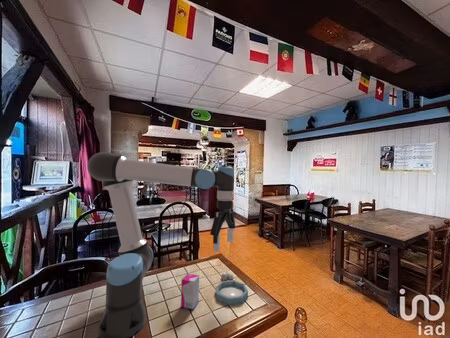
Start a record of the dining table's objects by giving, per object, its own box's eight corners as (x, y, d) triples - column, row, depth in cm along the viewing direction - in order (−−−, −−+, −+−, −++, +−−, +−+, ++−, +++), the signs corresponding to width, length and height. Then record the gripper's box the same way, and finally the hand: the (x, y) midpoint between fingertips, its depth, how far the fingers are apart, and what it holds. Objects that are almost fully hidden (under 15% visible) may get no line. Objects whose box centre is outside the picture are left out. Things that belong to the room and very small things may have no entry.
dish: (219, 306, 82) (219, 300, 82) (214, 287, 95) (214, 282, 95) (250, 302, 84) (250, 296, 84) (241, 284, 98) (241, 279, 98)
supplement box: (199, 301, 84) (199, 274, 85) (193, 310, 79) (193, 281, 79) (186, 299, 86) (187, 272, 86) (180, 307, 80) (181, 279, 80)
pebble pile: (224, 283, 100) (224, 276, 100) (219, 278, 105) (219, 271, 105) (234, 280, 103) (234, 273, 103) (229, 275, 108) (229, 269, 108)
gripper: (218, 203, 78) (216, 257, 77) (242, 198, 100) (241, 239, 99) (203, 201, 81) (201, 253, 80) (229, 197, 103) (228, 237, 102)
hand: (223, 246), depth 90 cm, fingers open, 13 cm apart
